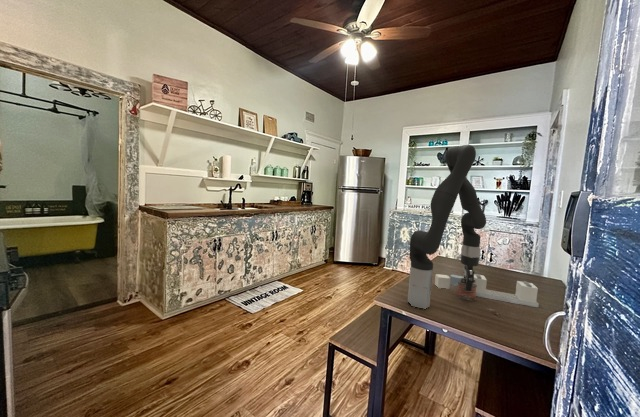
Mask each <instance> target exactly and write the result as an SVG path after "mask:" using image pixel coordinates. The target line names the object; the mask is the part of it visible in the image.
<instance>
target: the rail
mask: <svg viewBox="0 0 640 417" xmlns="http://www.w3.org/2000/svg"><path fill="white" fill-rule="evenodd" d="M475 297H479V298H484V299H485V298H486V299H491V300H496V301H499V302H506V303H512V304H515V305H516V304H517V305H522V306H527V307H531V308H539V304H540V303H539V302H538V301H537V300H536V303H533V302H528V301H522V300H520V299H519V298H518V297H517V296H516V295H515V293H511V292H510V293H509V292H503V291H497V290H491V289H488V288H486V292H485V294H484V293H478V292H476V294H475Z"/></svg>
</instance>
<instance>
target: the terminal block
mask: <svg viewBox="0 0 640 417" xmlns="http://www.w3.org/2000/svg"><path fill="white" fill-rule="evenodd" d="M450 278H451V279H450V286H453V285H454V287H457V286H458V281H461V278H464V276H462V275H456V274H450Z"/></svg>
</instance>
